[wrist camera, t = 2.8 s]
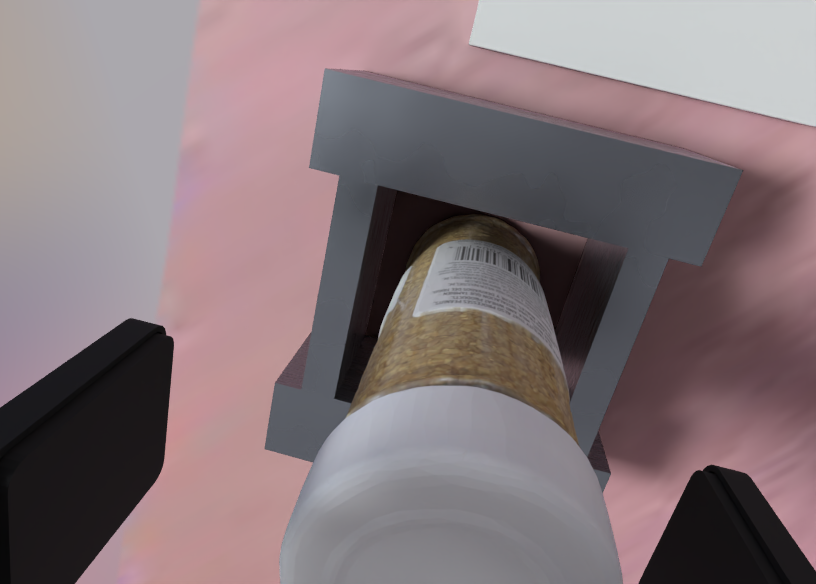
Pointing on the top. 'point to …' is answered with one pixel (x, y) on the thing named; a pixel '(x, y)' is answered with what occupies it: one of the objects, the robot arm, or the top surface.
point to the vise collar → (504, 196)
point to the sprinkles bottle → (457, 437)
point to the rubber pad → (671, 46)
